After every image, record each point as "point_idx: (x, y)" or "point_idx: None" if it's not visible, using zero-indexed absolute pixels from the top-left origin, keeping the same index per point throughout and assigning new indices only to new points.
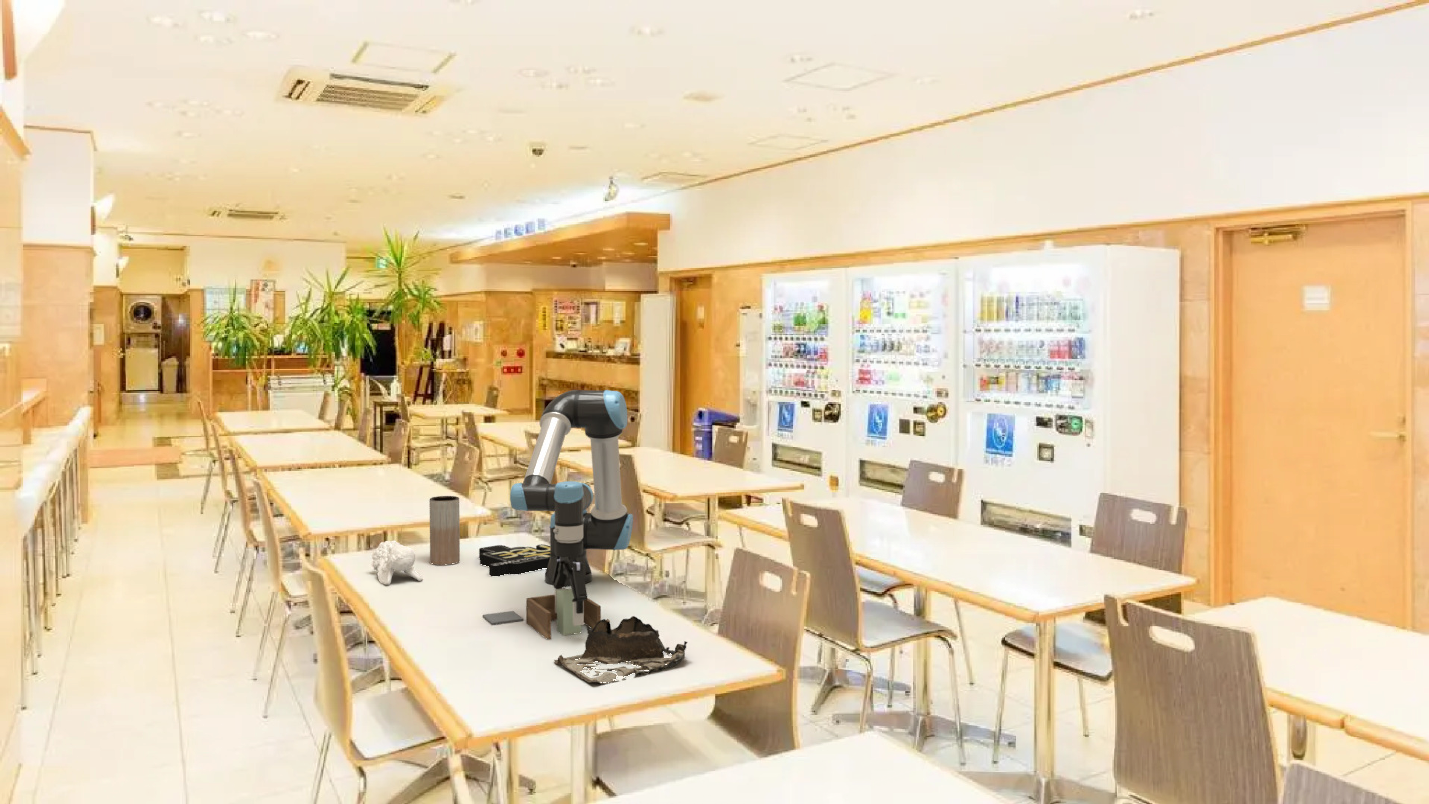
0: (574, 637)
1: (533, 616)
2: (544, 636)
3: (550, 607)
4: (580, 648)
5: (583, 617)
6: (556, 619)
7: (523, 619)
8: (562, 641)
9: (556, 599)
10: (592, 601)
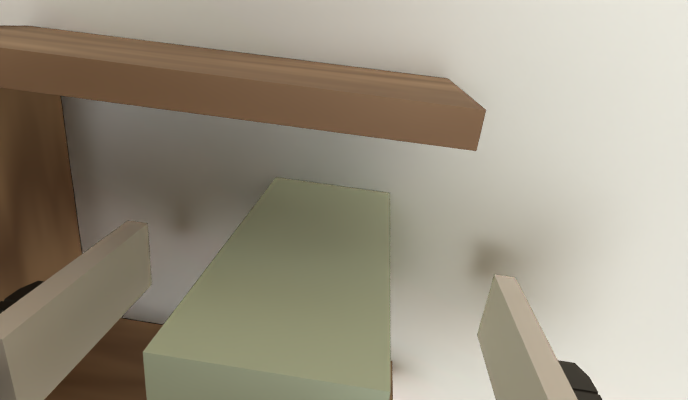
0: (441, 262)
1: None
2: None
3: (13, 255)
4: (636, 330)
5: (530, 309)
6: (70, 183)
7: None
8: (462, 338)
9: (89, 345)
10: (263, 90)
